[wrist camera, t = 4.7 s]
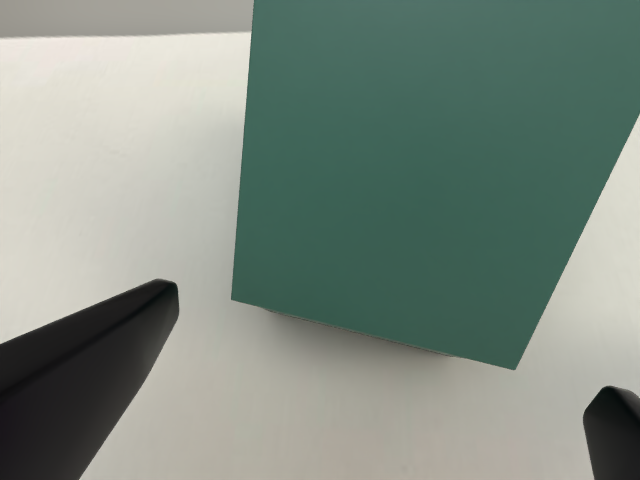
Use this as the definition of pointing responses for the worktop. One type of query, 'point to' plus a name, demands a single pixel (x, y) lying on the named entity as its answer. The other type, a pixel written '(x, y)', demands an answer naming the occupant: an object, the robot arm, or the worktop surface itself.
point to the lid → (428, 161)
